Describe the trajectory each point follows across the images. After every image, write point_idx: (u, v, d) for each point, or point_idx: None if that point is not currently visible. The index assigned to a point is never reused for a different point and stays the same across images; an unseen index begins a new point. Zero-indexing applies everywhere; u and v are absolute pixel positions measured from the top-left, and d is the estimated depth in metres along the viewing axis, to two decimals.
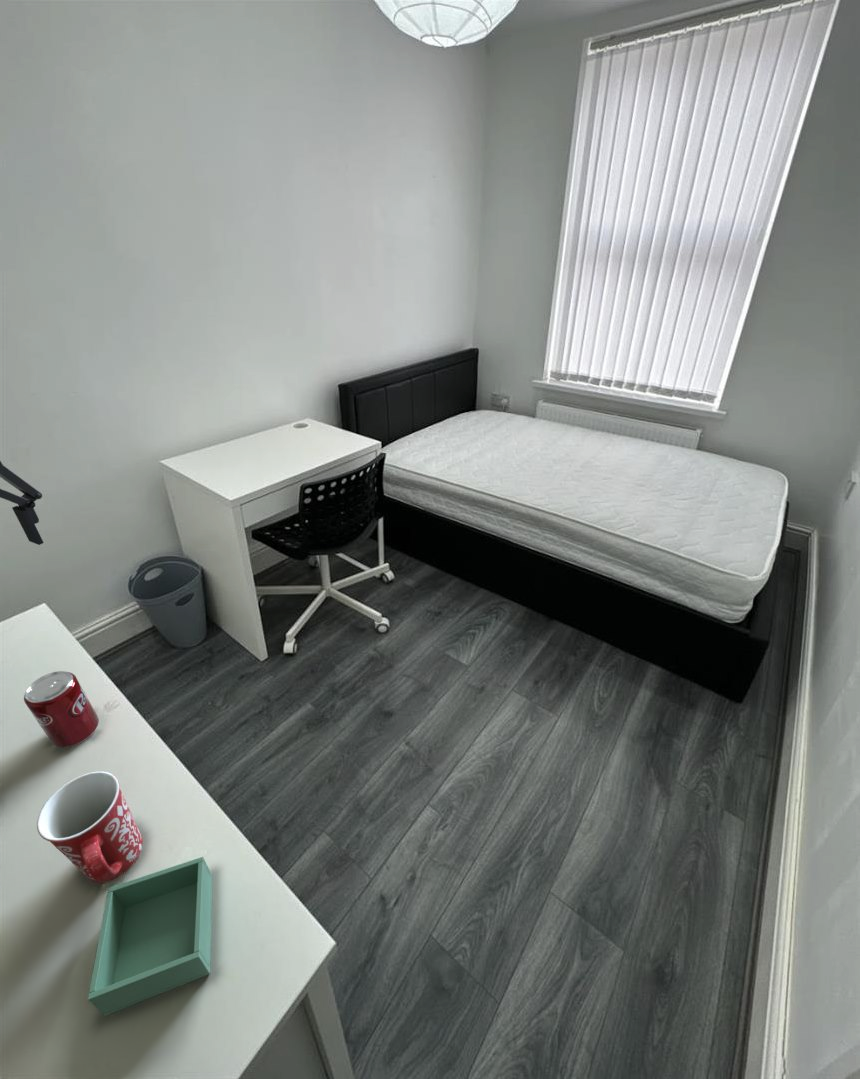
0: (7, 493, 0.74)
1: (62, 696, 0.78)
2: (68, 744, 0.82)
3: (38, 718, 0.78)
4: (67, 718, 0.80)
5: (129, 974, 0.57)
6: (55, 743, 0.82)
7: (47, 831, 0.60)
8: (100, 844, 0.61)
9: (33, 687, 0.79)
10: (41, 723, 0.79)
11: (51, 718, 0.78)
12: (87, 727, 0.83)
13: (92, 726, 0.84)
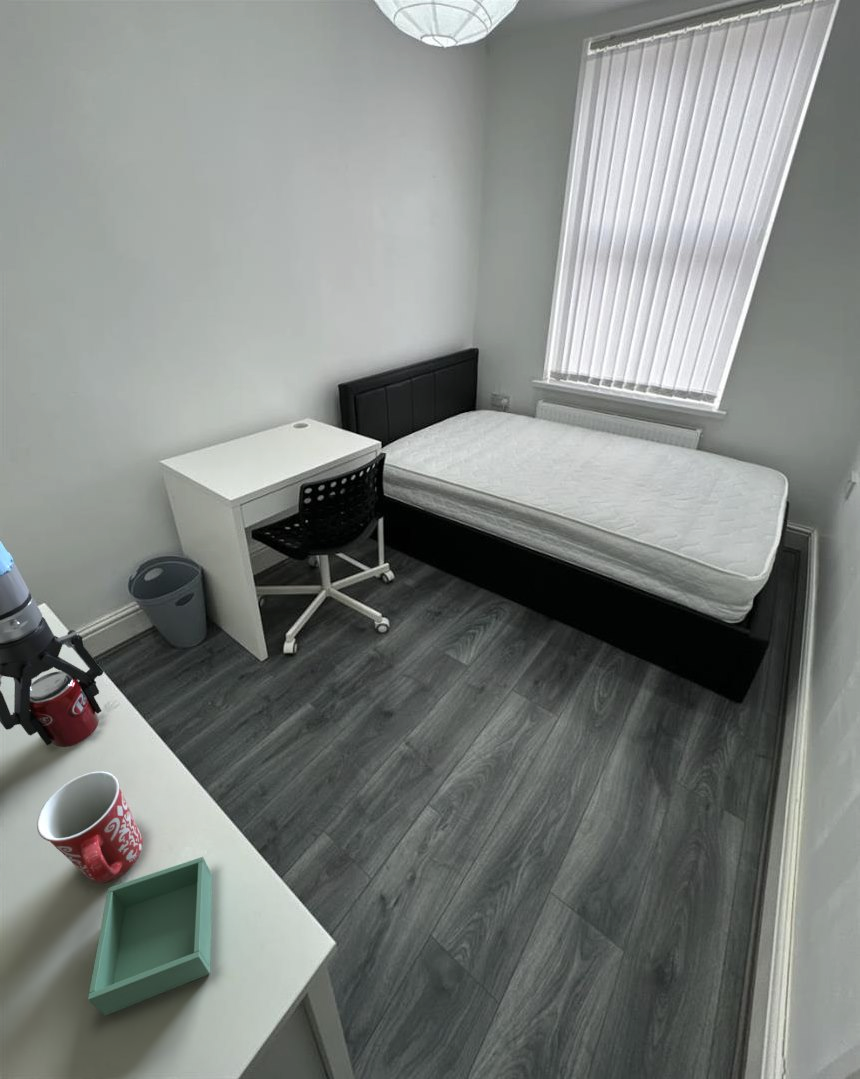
0: (77, 672, 0.81)
1: (62, 696, 0.78)
2: (68, 744, 0.82)
3: (38, 718, 0.78)
4: (67, 718, 0.80)
5: (129, 974, 0.57)
6: (55, 743, 0.82)
7: (47, 831, 0.60)
8: (100, 844, 0.61)
9: (33, 687, 0.79)
10: (41, 723, 0.79)
11: (51, 718, 0.78)
12: (87, 727, 0.83)
13: (92, 726, 0.84)
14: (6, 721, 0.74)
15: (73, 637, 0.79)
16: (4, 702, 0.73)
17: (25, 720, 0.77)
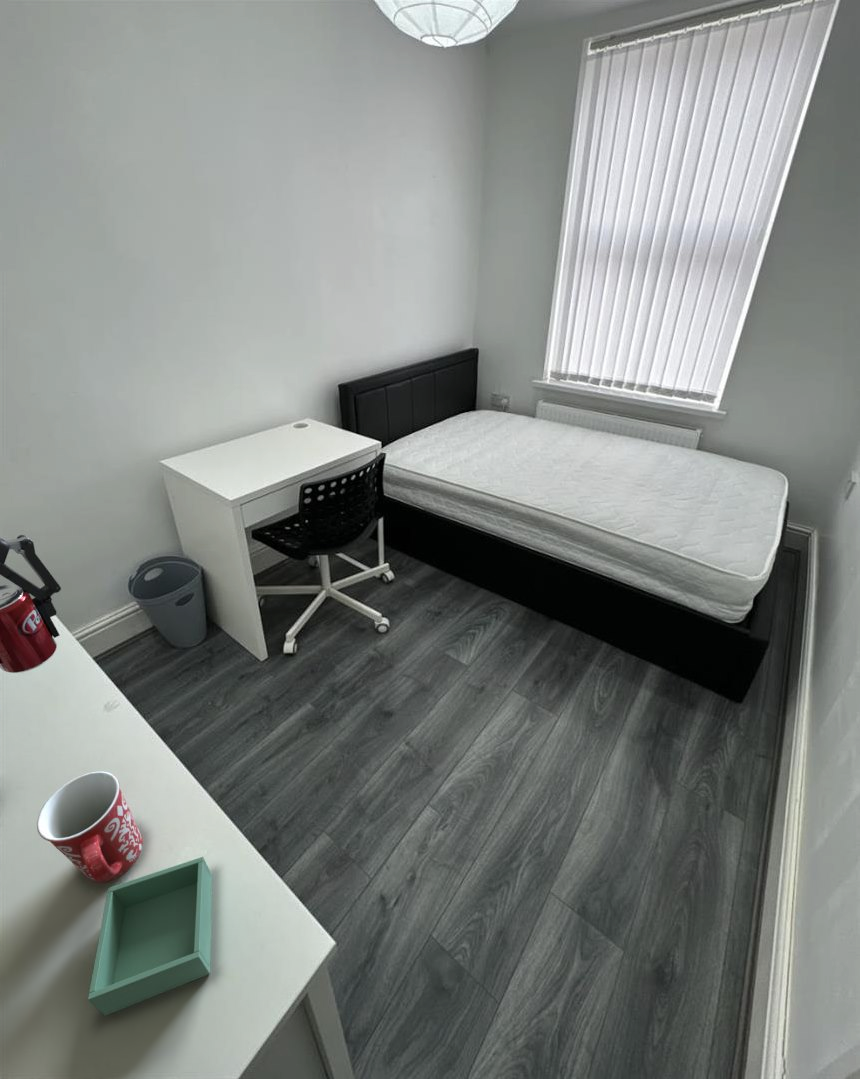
0: (28, 584, 0.70)
1: (9, 609, 0.67)
2: (18, 668, 0.71)
3: None
4: (16, 636, 0.69)
5: (129, 974, 0.57)
6: (4, 667, 0.71)
7: (47, 831, 0.60)
8: (100, 844, 0.61)
9: None
10: None
11: None
12: (41, 651, 0.73)
13: (48, 650, 0.74)
14: None
15: (23, 541, 0.68)
16: None
17: None
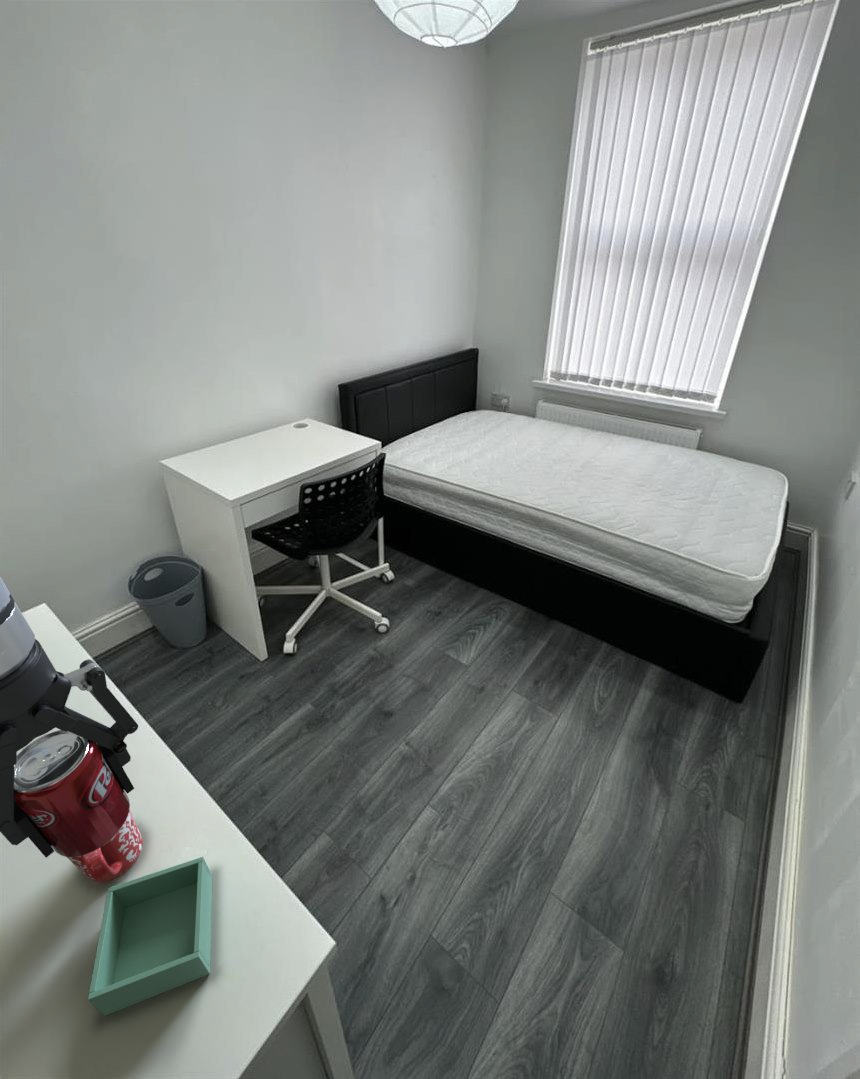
0: (96, 731, 0.48)
1: (71, 778, 0.44)
2: (81, 852, 0.48)
3: (30, 816, 0.45)
4: (80, 812, 0.46)
5: (129, 974, 0.57)
6: (59, 851, 0.48)
7: None
8: None
9: (21, 760, 0.45)
10: (35, 823, 0.45)
11: (52, 816, 0.45)
12: (113, 821, 0.50)
13: (120, 817, 0.51)
14: None
15: (90, 673, 0.46)
16: None
17: (6, 824, 0.43)
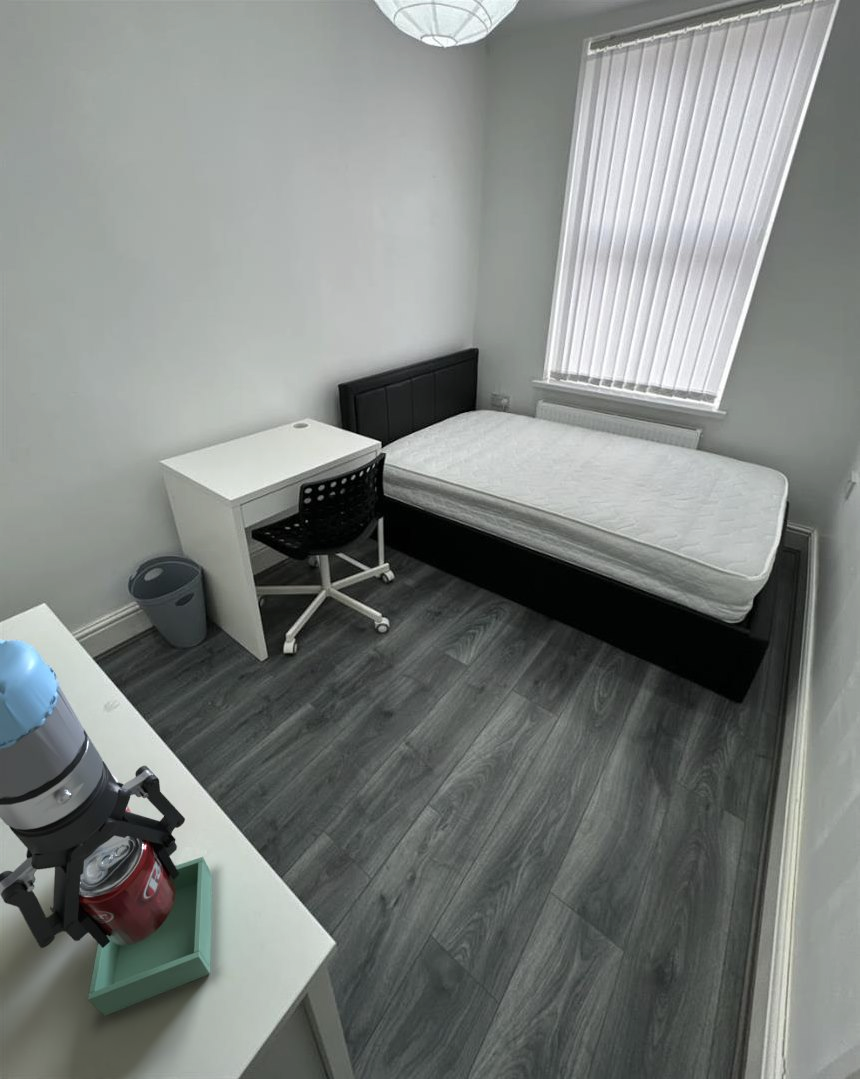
0: (149, 831, 0.51)
1: (129, 881, 0.48)
2: (134, 941, 0.52)
3: (91, 915, 0.48)
4: (136, 908, 0.50)
5: (129, 974, 0.57)
6: (114, 941, 0.52)
7: None
8: None
9: None
10: (95, 920, 0.49)
11: (112, 914, 0.49)
12: (162, 910, 0.54)
13: (168, 904, 0.55)
14: (41, 936, 0.45)
15: (146, 781, 0.49)
16: (40, 910, 0.44)
17: (71, 925, 0.47)
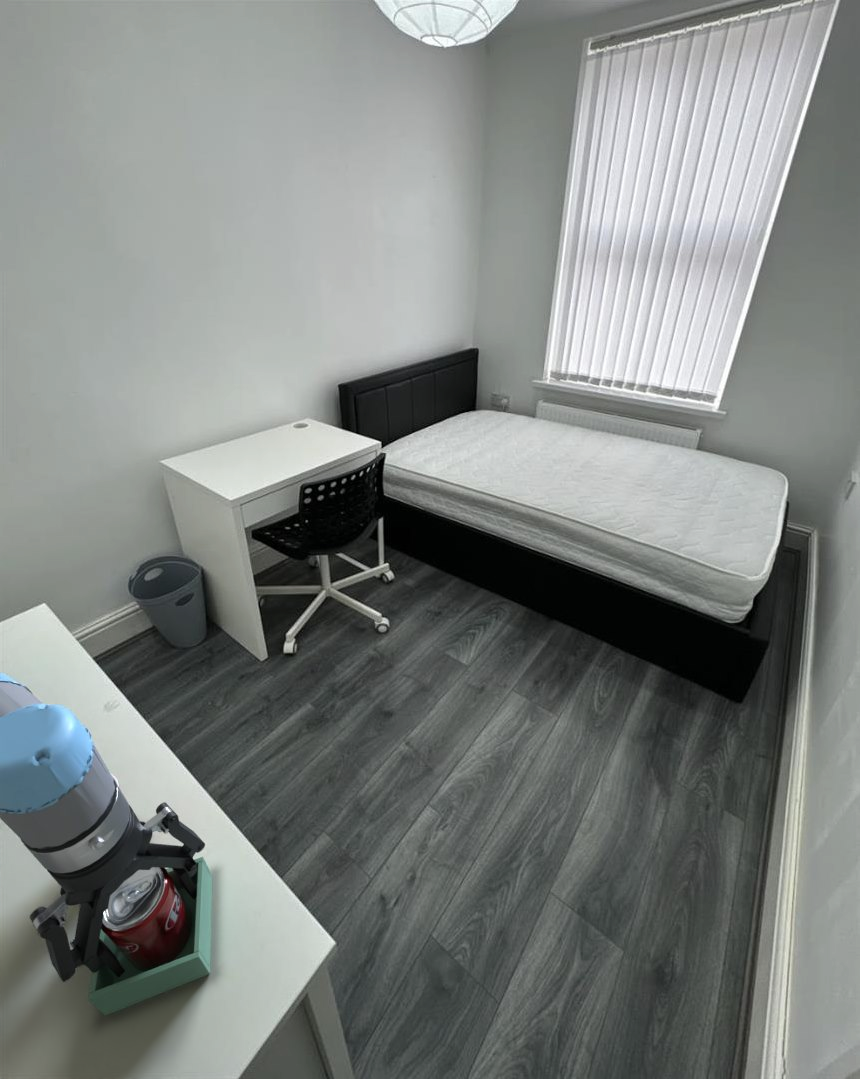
0: (172, 859, 0.56)
1: (153, 915, 0.53)
2: None
3: (118, 946, 0.53)
4: (158, 939, 0.55)
5: (129, 974, 0.57)
6: (138, 968, 0.57)
7: None
8: None
9: (110, 897, 0.54)
10: (121, 950, 0.54)
11: (137, 945, 0.53)
12: (181, 939, 0.58)
13: (187, 933, 0.59)
14: (64, 971, 0.48)
15: (166, 818, 0.53)
16: (67, 944, 0.47)
17: (91, 959, 0.50)
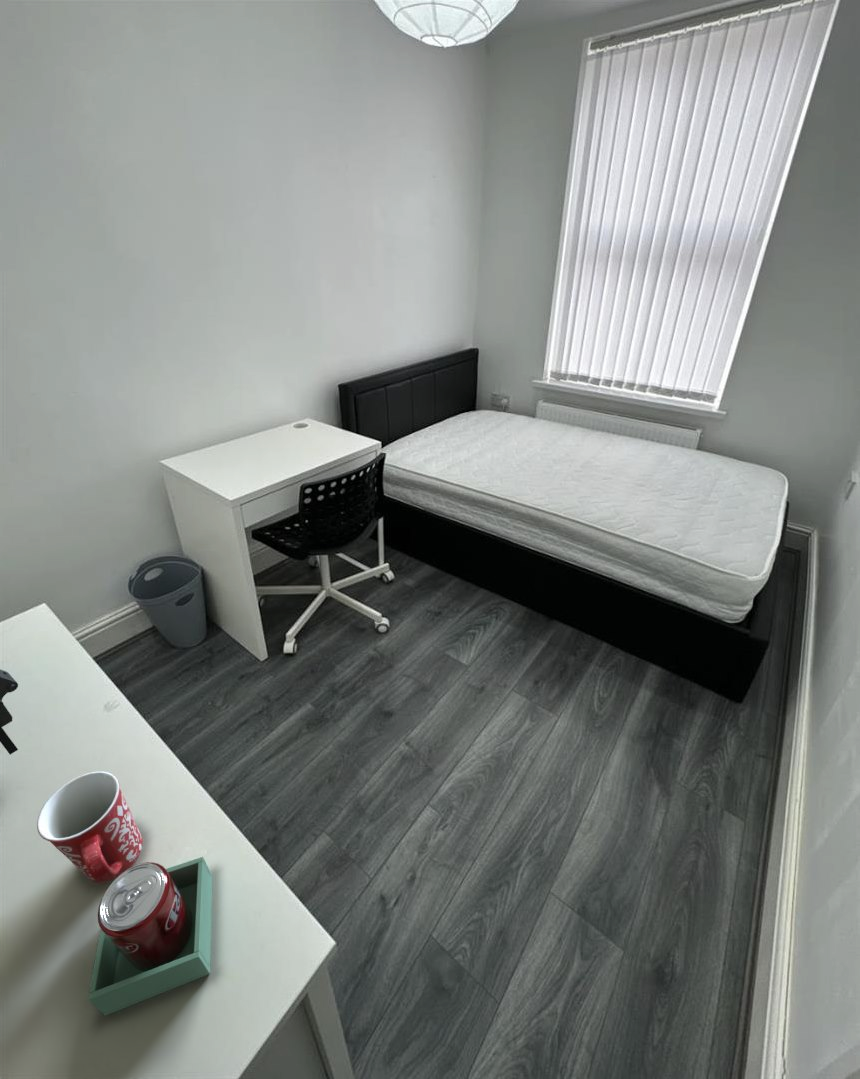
0: None
1: (153, 915, 0.53)
2: None
3: (118, 946, 0.53)
4: (158, 939, 0.55)
5: (129, 974, 0.57)
6: (138, 968, 0.57)
7: (47, 831, 0.60)
8: (100, 844, 0.61)
9: (110, 897, 0.54)
10: (121, 950, 0.54)
11: (137, 946, 0.53)
12: (181, 939, 0.58)
13: (186, 933, 0.59)
14: None
15: None
16: None
17: None
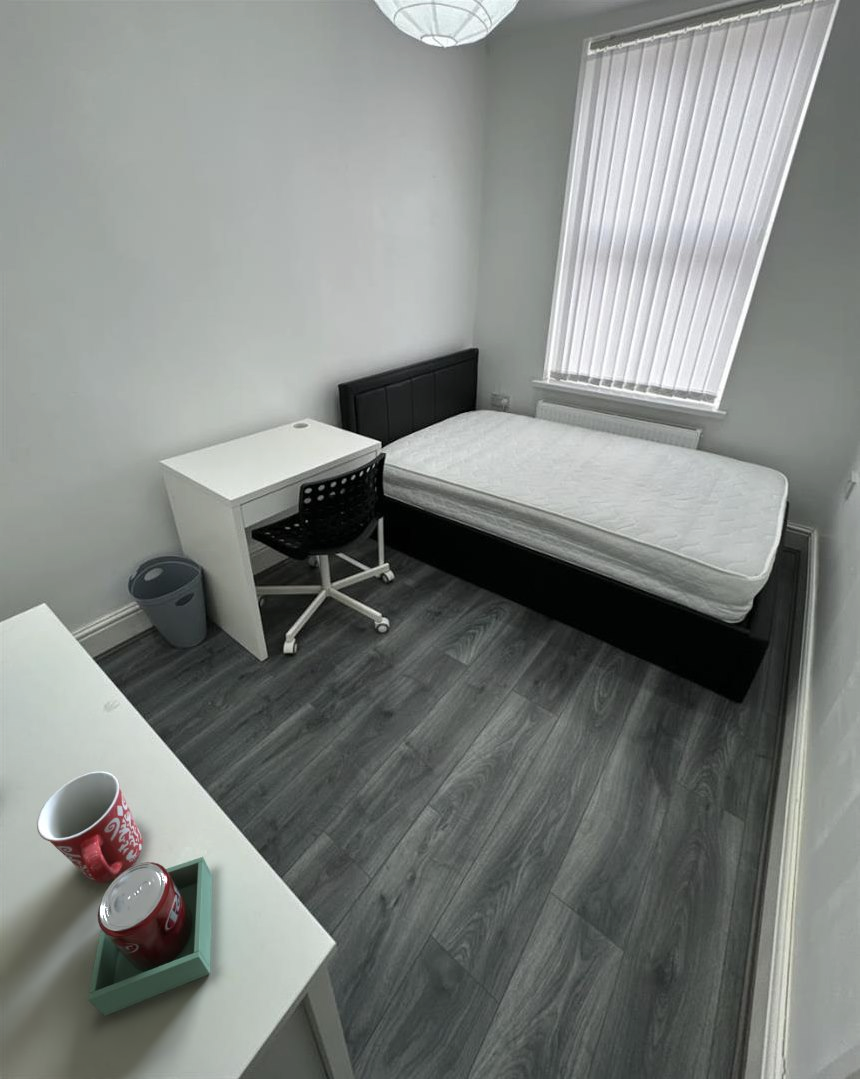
0: None
1: (153, 915, 0.53)
2: None
3: (118, 946, 0.53)
4: (158, 939, 0.55)
5: (129, 974, 0.57)
6: (138, 968, 0.57)
7: (47, 831, 0.60)
8: (100, 844, 0.61)
9: (110, 897, 0.54)
10: (121, 950, 0.54)
11: (137, 946, 0.53)
12: (181, 939, 0.58)
13: (186, 933, 0.59)
14: None
15: None
16: None
17: None
